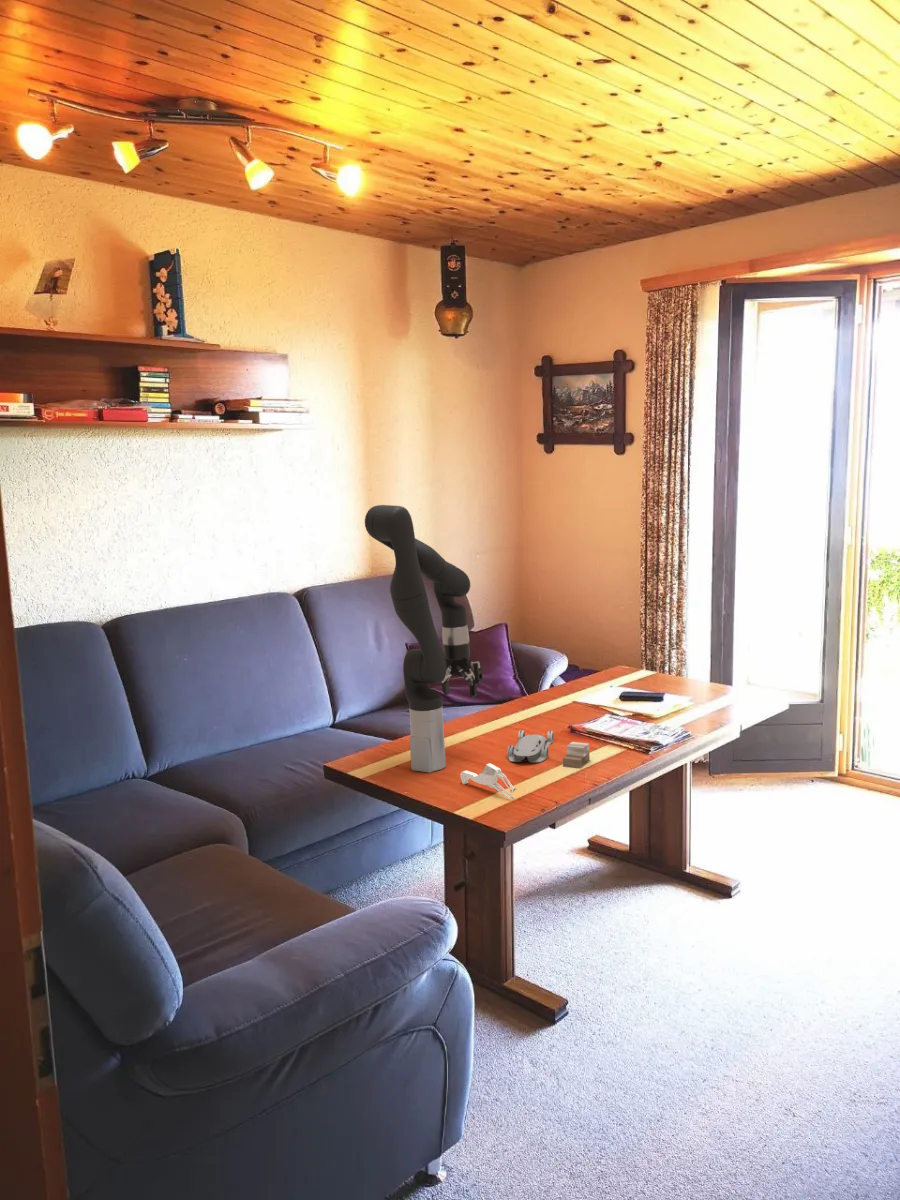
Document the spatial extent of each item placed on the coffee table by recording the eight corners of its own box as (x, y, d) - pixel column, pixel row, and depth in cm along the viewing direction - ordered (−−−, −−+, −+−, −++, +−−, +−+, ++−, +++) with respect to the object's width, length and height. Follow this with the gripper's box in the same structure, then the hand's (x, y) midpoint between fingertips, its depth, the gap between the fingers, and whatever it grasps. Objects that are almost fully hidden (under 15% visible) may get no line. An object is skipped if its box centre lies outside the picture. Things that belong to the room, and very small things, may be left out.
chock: (572, 759, 257) (572, 741, 257) (589, 761, 255) (589, 743, 254) (563, 766, 251) (562, 749, 251) (580, 769, 249) (579, 751, 248)
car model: (556, 740, 276) (555, 724, 275) (543, 767, 252) (543, 749, 252) (519, 739, 278) (518, 723, 278) (504, 766, 255) (503, 748, 254)
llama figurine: (508, 819, 232) (463, 778, 244) (518, 783, 228) (472, 743, 239) (502, 821, 231) (458, 780, 243) (513, 785, 226) (466, 745, 238)
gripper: (427, 642, 262) (432, 697, 265) (472, 645, 255) (476, 701, 258) (440, 636, 268) (444, 690, 271) (484, 638, 261) (488, 693, 264)
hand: (460, 695), depth 265 cm, fingers open, 8 cm apart
